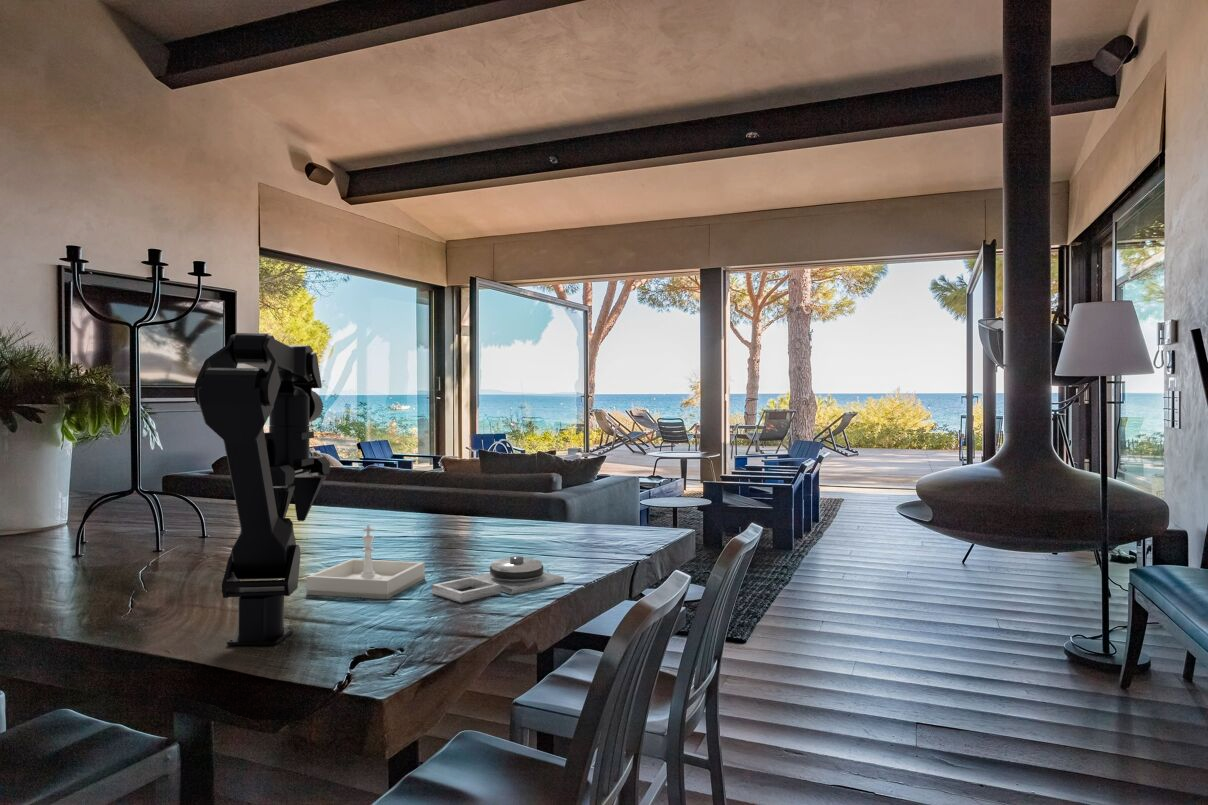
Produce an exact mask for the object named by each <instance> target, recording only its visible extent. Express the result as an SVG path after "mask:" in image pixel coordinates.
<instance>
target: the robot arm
mask: <svg viewBox="0 0 1208 805" xmlns="http://www.w3.org/2000/svg"><path fill="white" fill-rule="evenodd" d="M313 351H314V349H313V347H312V346H311V345H309V344H306V345H305V344H286V343H283V342H281V341H280V340H277V339H276V338H275V336H274V335H273V334H272V335H271V334H268V333H266V332H265V333H259V332H258V333H256V332H252V333H251V332H237V333H236V334H231V335H230V336H229V337H228V340H227V343H226V345H225V346H223V347H222V348H220V349H219V350H217V351H216V352H215V353H213V354H212V355H210V356H209V357H207V358H206V359H205V360H204V362H203V364H202V366H201V369H200V371H199V372H198V375H197V377H196V379H195V383H194V388H193V392H194V395H193V396H194V400H195V402H196V405H197V406H199V409H200V412H201V414H202V418H203V421H204V423H205V425H206V426H207V427H208V428H209V429H211V431H213V432H214V434H216V435H217V436H219V438H220V439H222V440H223V441H222V442H223V445H224V450H225V455H226V464H227V465H228V470H229V475H230V479H231V480H230V481H231V484H232V492H233V496H234V500H235V506H236V511H237V516H238V522H239V527H240V530H239V533H238V535H237V537H236V539H235V542H234V544H233V546H232V548H231V552H230V555H229V556H228V559H227V562H226V567H225V571H224V574H223V579H222V582H221V594H222V598H223V599H228V598H237V634H236V635H233V636H232V637H231V638H230V639H228V640H226V646H274V645H278V643H280V642H281V641H283V640H284V639H285V638H286V637H287V636H289V635H290V634H291V633H292V632H294V627H293V626H285V597H289V596H291V595H292V594H294V592H295V591H296V590H297V589H298V586H299V578H300V577H299V576H300V575H299V574H300V564H301V549H300V548H301V547H300V545H299V544H297V543H296V540H297V539H296V536H295V533H294V523H293V521H292V520H291V518H289V517H286V516H287V513H288V509H289V507H290V504H291V501H292V498H293V499H294V508H295V514H296V520H297V521H298V522H304V521H305V520H306V519H307V517H308V514H309V513H310V511H311V508H312V506H313V504H314V501H315V499H316V497H317V495H318V493H319V492H320V489H321V488H322V486H323V483H325V480H326V479H327V474H330V473H331V465H330V464H331V462H330V460H328V458H326V456H316V455H315V456H314V455H313V456H311V455H310V439H314V437H315V431H310V423H312V422H314V421H316V420H317V419H318V418H319V417H320V416H321V414H322V412H323V408H324V402H323V401H322V398H321V396H320V395H319V394H318V393H317V392H316V391H315V390H313V389H322V386H323V385H322V376H321V371H320V365H319V360H318V355H317V352H313ZM239 364H245V365H248V366H250V368H249V367H246V368H245V367H238V365H239ZM268 420H269V422H268V424H269V425H268V426H269V432H265V430H264V429H265V428H264V426H265V425H266V423H267V421H268ZM319 474H320V475H319ZM240 580H241V581H240Z"/></svg>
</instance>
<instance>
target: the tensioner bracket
mask: <svg viewBox="0 0 1208 805" xmlns="http://www.w3.org/2000/svg"><path fill="white" fill-rule="evenodd" d="M564 580H565V577H564V576H562V575H557V574H553V573H549V572H545V571H544V565H543V562H542V561H541V560H539V559H534V558H529V557H527V558H526V557H524V556H519V555H516V556H515V555H514V556H510V557H508V558H502V559H496V560H494V561H492V562H491V565H490V566H489V572H488V573H487V572H486V573H482V574H477V575H472V576H468V577H464V578H459V579H453V580H449V581H445V582H444V581H443V582H439V583H434V584H433V583H432V585H431V594H432V595H435V596H439V597H442V598H445V599H448V600H451V601H453V602H454V601H455V602H457V603H460V604H462V603H465V602H471V601H475V600H478V599H482V598H486V597H487V598H488V597H492V596H496V595H499V594H501V593H505V594H508V595H511V596H513V595H517V594H520V593H524V592H529V591H533V590H538V589H541V588H547V587H550V586H554V585H560V584H562V583H564V582H565V581H564ZM466 588H472V589H469V590H464V591H461V590H462V589H466Z"/></svg>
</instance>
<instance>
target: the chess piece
mask: <svg viewBox="0 0 1208 805" xmlns="http://www.w3.org/2000/svg"><path fill="white" fill-rule="evenodd" d="M362 531H363V532H366V534H364V535H362V536H361V537H362V538H361V539H362V541H363V545H364V547H363V548H362V550H361V551H362V552H364V553H365V554H364V559H365V561H364V568H363V572H361V574H362V575H359V576H357V577H355V578H364V579H382V576H380V575H378V574H374V573H375V572H374V571H373V567H372V560H373V559H372V552H374V551H375V548H374V547H372V544H373V541H374V540H375V536H374V534H371V533H370V532H374V527H371V526H370V524H366V527H365V528H363V529H362Z"/></svg>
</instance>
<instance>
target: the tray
mask: <svg viewBox="0 0 1208 805" xmlns="http://www.w3.org/2000/svg"><path fill="white" fill-rule="evenodd" d="M364 561H365V558H363V559H361V558H360V559H359V558H350V559H348V560H345V561H343V562H340V563H338V564H335V565H333V566H330V567H328V568H325V569H323V570H320V571H317V572H315V573H312V574H310V575H307V576H306V587H305V588H306V593H305V594H306V595H307V596H308V595H309V596H310V595H311V596H324V597H327V596H328V597H339V598H340V597H344V598H357V597H359V598H360V597H361V598H360V599H375V600H377V599H378V600H388V599H391V598H392V597H395V595H398V594H400V593H401V592H403V591H406V590H407V589H409V588H410V587H412V586H414V585H416V584H418V583H419V582H421V581H423V580H424V579H425V578H426V564H425V563H426V562H423V561H405V560H404V561H400V560H384V559H383V560H381V559H372V567H373V571H374V572H375V573H374V574H378V575H380V576H382V579H364V578H355V577H357V576H359V575H362V574H361V572H363V568H364Z"/></svg>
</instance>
